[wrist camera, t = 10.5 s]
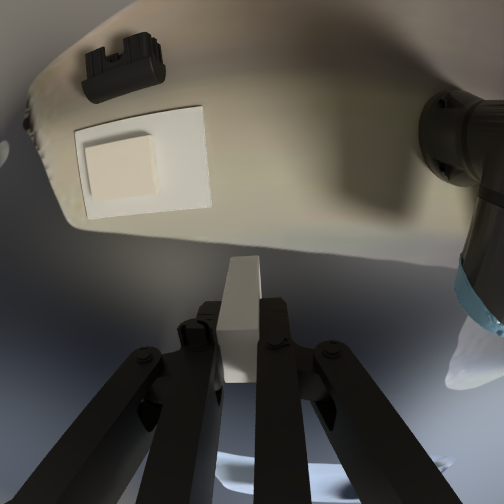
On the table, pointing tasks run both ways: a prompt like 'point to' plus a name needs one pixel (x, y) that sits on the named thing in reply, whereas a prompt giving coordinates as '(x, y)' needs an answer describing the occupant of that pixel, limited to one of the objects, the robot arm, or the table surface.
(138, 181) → the tile
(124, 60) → the end cap
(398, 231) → the table surface
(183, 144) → the mat
